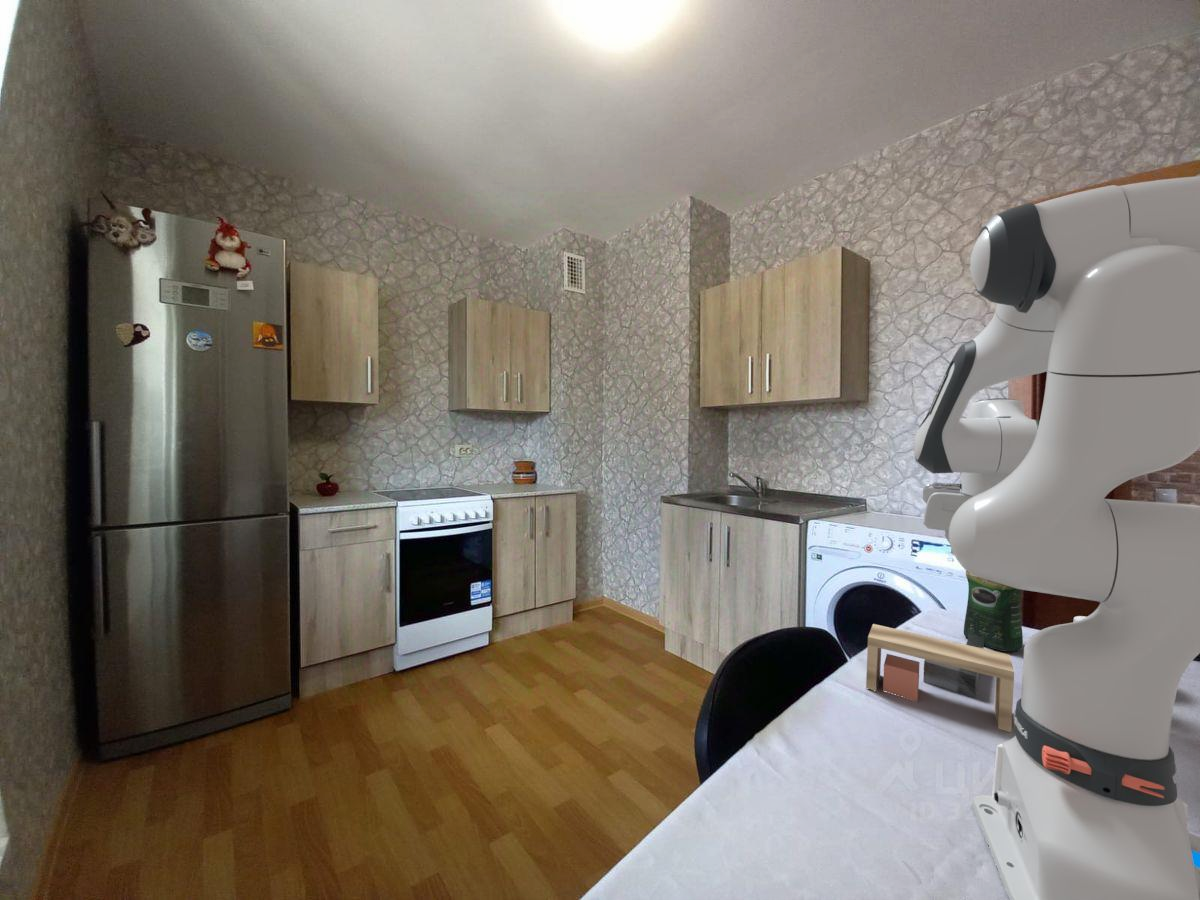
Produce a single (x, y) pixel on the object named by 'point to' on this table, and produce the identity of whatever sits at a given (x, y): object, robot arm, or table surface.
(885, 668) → the block
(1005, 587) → the coffee jar
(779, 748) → the table surface
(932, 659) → the bridge
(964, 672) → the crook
